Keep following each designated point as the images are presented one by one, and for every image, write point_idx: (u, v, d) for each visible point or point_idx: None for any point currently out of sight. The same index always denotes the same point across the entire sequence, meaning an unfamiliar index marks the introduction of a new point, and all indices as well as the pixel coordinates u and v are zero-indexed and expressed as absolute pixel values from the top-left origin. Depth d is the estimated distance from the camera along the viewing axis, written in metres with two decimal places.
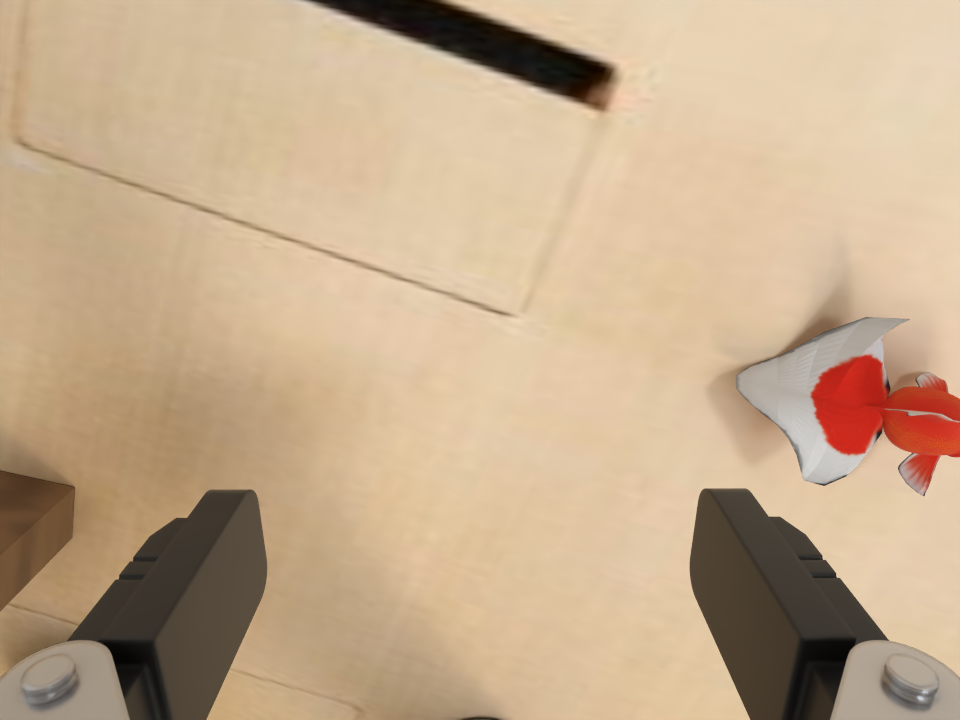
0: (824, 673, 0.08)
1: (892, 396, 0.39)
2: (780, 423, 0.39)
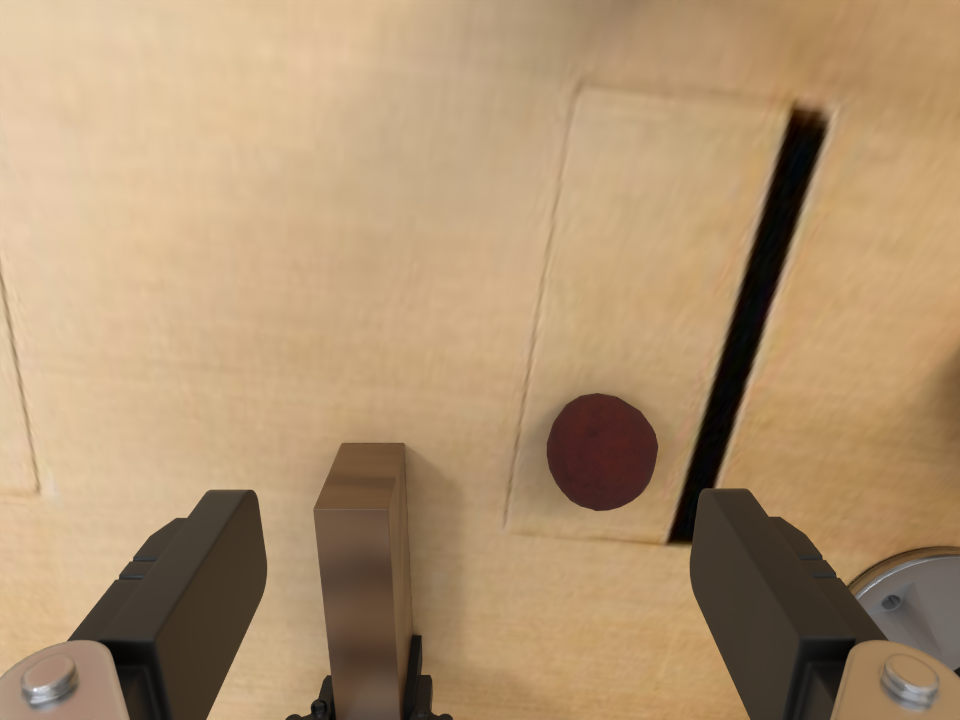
0: (824, 673, 0.08)
1: None
2: None
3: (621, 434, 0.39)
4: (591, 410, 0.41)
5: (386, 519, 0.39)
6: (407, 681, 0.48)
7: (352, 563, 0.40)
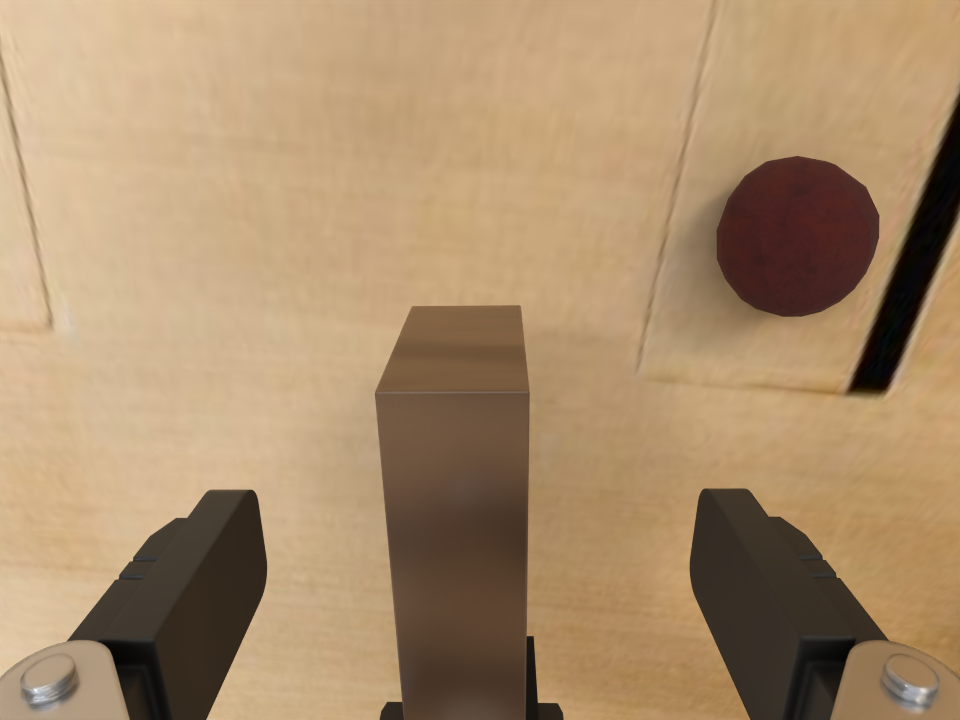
0: (824, 673, 0.08)
1: None
2: None
3: (842, 191, 0.28)
4: (792, 167, 0.29)
5: (523, 414, 0.19)
6: None
7: (450, 504, 0.20)
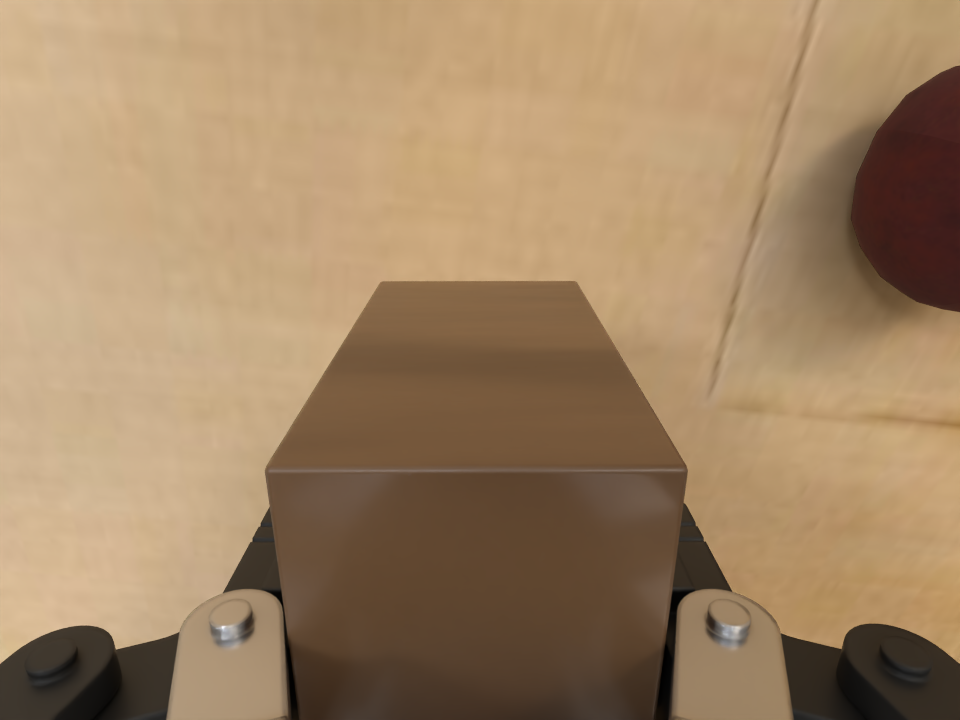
0: None
1: None
2: None
3: None
4: None
5: (667, 527, 0.07)
6: None
7: None
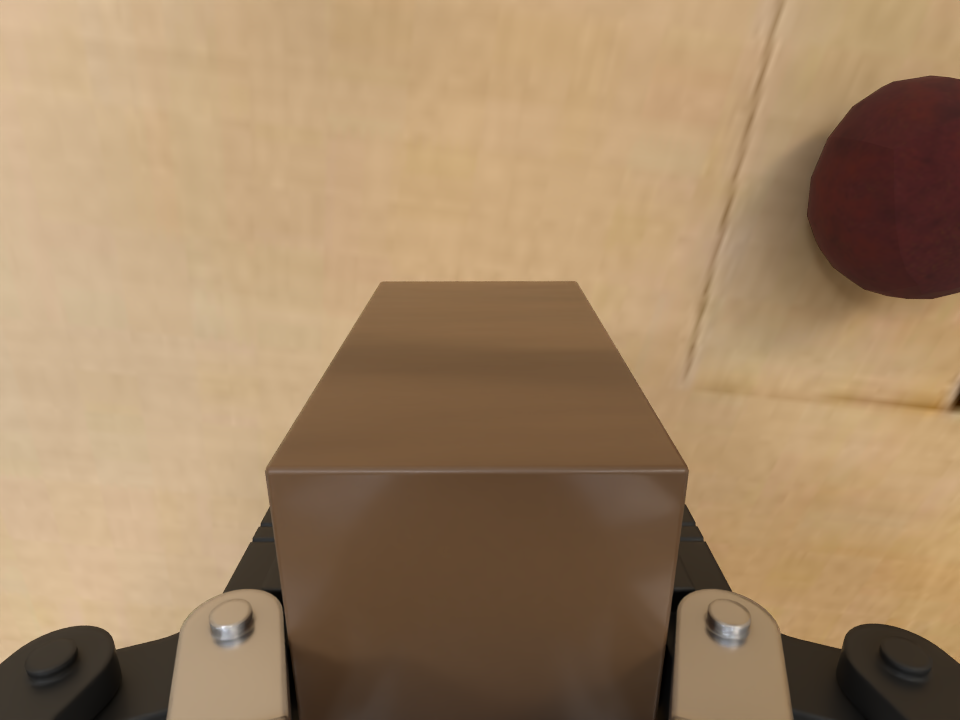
0: None
1: None
2: None
3: None
4: (932, 85, 0.21)
5: (668, 529, 0.07)
6: None
7: None
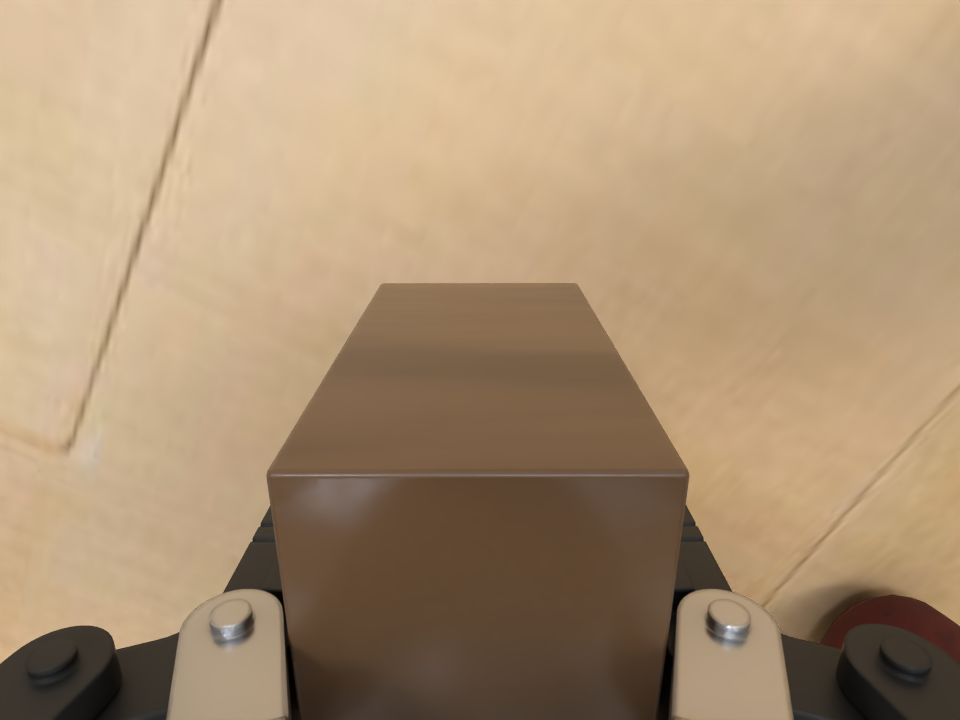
0: None
1: None
2: None
3: None
4: (939, 635, 0.29)
5: (669, 531, 0.07)
6: None
7: None
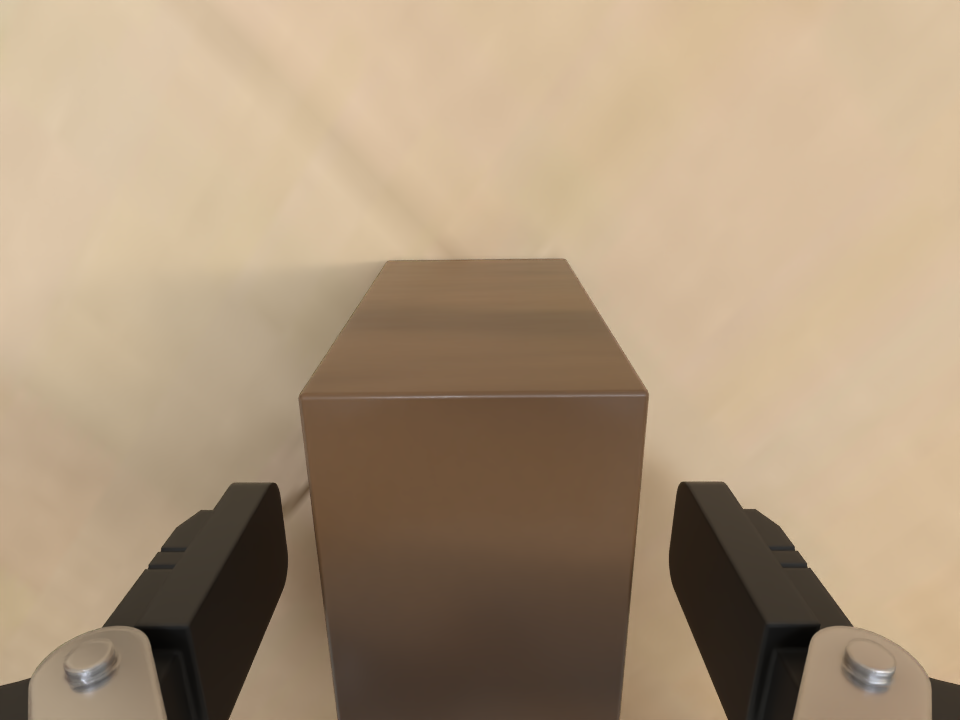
0: (789, 658, 0.08)
1: None
2: None
3: None
4: None
5: (633, 444, 0.08)
6: None
7: (464, 634, 0.10)
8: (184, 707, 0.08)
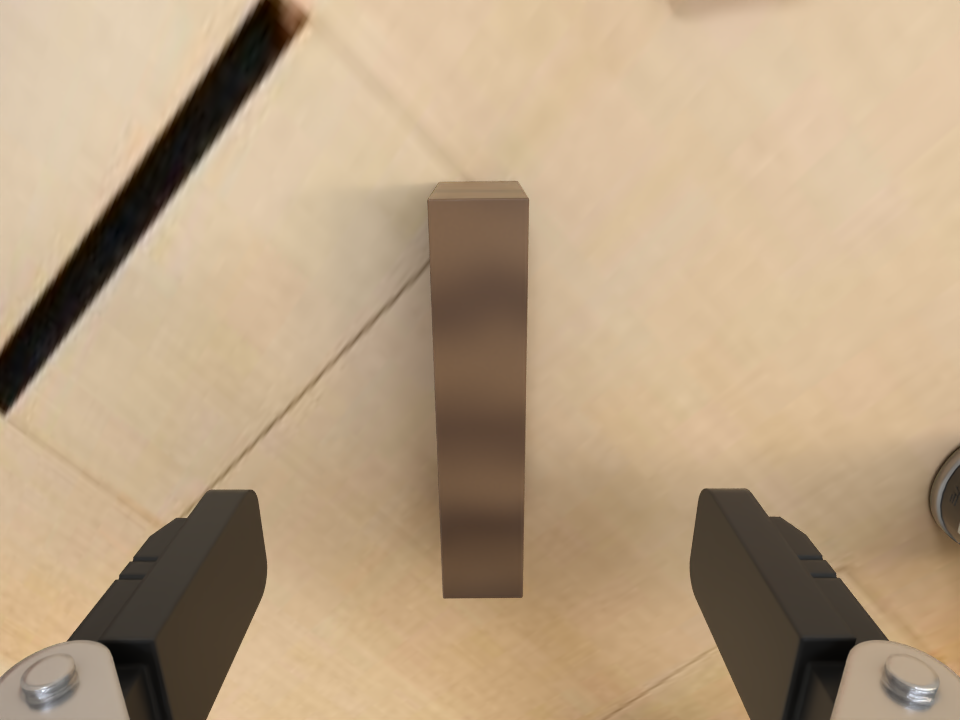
0: (824, 673, 0.08)
1: None
2: None
3: None
4: None
5: (525, 215, 0.29)
6: None
7: (475, 284, 0.30)
8: None
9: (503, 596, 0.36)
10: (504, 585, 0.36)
